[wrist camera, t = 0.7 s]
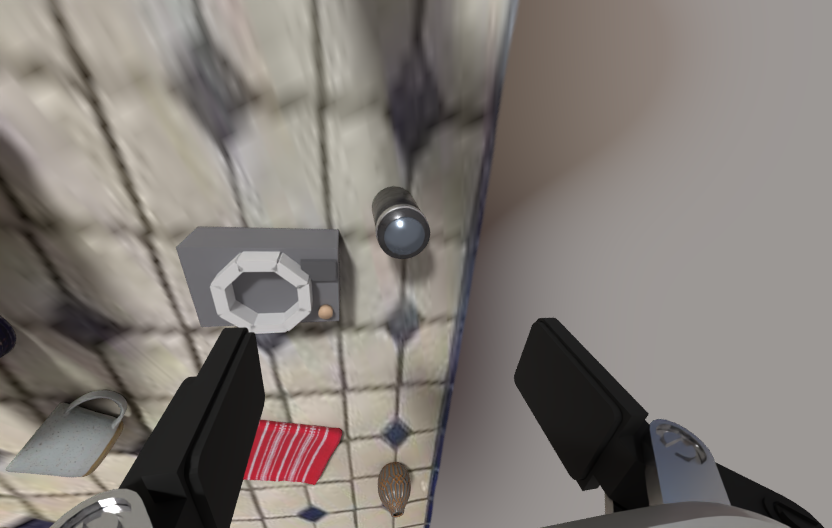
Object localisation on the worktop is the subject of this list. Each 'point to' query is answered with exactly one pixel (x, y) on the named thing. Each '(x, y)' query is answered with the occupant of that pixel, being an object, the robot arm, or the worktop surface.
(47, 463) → the ceramic mug
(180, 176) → the worktop surface
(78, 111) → the worktop surface
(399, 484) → the vase
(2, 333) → the storage jar
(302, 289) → the camera body
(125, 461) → the worktop surface
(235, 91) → the worktop surface
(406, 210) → the lens
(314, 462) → the dish towel
